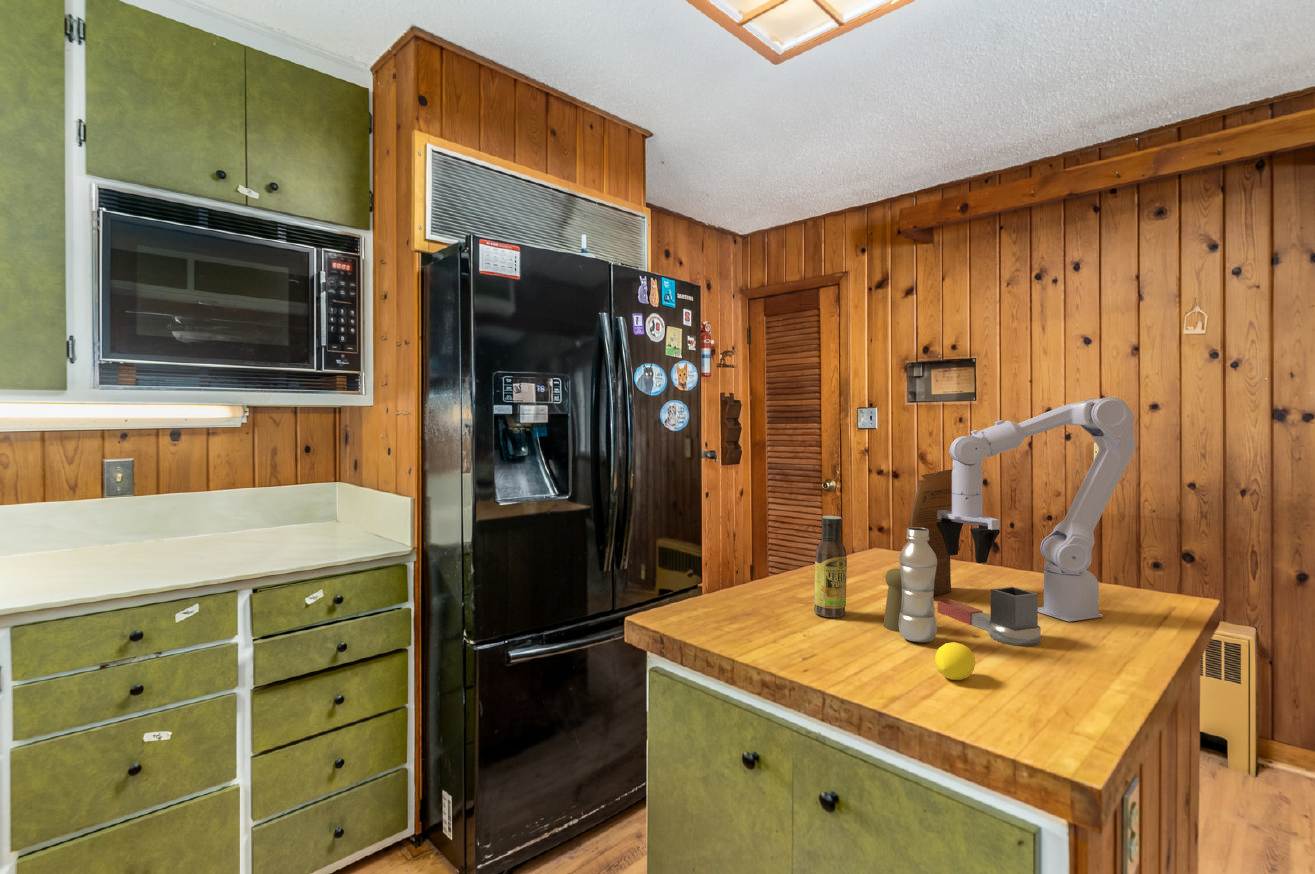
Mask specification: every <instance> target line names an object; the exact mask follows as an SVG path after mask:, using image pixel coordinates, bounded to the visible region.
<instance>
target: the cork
mask: <svg viewBox="0 0 1315 874" xmlns="http://www.w3.org/2000/svg"><path fill="white" fill-rule="evenodd" d="M885 583H886V584H887V586H888V589H887V597H886V603H885V609H884V616H883V624H882V626H883V628H885V629H886V628H887V630H888V631H893V632H897V633H900V632H899V626H898V622H899V615H900V612H901V601H902V581H901V572H900V568H892V569H891V568H890V569H888V570H887V571H886V573H885Z"/></svg>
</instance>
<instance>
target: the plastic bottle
mask: <svg viewBox="0 0 1315 874" xmlns="http://www.w3.org/2000/svg"><path fill="white" fill-rule="evenodd" d="M905 537H906V538H905V539H906V540H907V543H905V544H904V546H903V547H902V549H901V551H899V555H898V563H899V565H898V566H899V569H900V572H901V581H902V601H901V612H900V615H899V622H898V626H899V632H898V633H900V635H901V637H902V638H903V639H906V640H907V641H911V642H914V643H930V642H932V641H933V640H934V639H935V638H936V636H937V631H938V624H937V618H936V613H935V612H936V611H935V600H934V597H933V594H934V591H933V590H934V579H935V573H936V566H937V558H936V555H935V553H934V551H933V550H932V548H931V547H930V546H929V544H928V540H929V531H928V529H926V528H918V527H911V528H910V527H907V528H906V536H905Z"/></svg>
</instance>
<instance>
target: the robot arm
mask: <svg viewBox="0 0 1315 874" xmlns="http://www.w3.org/2000/svg"><path fill="white" fill-rule="evenodd" d="M1135 418H1136V416H1135V414H1134V412H1133V411H1132V409H1131V408H1130V406H1129V405H1128V403H1126V402H1125V401H1124V400H1122V399H1121V398H1118V397H1114V396H1113V397H1112V396H1108V397H1105V398H1087V399H1084V400H1083V401H1077V402H1076V401H1075V402H1072V403H1069V404H1064V405H1061V406H1059V407H1055V408H1053V409H1051V410H1049V411H1046V412H1044V413H1041V414H1038V415H1036V416H1034V417H1031V418H1029V419H1026V420H1024V421H1022V422H1021V421H1020V422H1019V423H1018V422H1017V423H1016V422H1013V421H1012V420H1006V421H1004V420H1002V419H999V420H997V421H994V425H991V426H989V427H987V428H986V427H985V428H983V429H980V430H978V429H974V430H971V431H970V433H971V435H967V436H966V435H962V436H959V437H957V438H955V439H954V441H952V443H951V444H950V447H949V449H948V453H949V456H950V457H951V459H952V470H953V471H952V511H948V510H938V511H937V519H940V520H941V522H936V526H937V527H938V529H939V530H940V532H941V534H942V537H943V539H944V542H945V546H946V550H947V554H948V555H950V557H951V556H958V554H959V550H960V547H959V546H960V536H961V531H962V528H963V525H969V526H975V527H972V528H970V529H969V530H970V533H971V535H972V539H973V543H974V558H975V563H977V564H987V562H988V558H989V555H990V552H991V549H992V547H993V545H994V542H996V541H995V540H996V539H997V538H998V536H999V535H1000V533H1001V531H1000V523H1001V522H1000V521H1001V520H1000V519H998V518H994V517H990V516H988V515H987V516H986V515H983V474H984V473H983V461H984V460H985V459H986V458H990V457H995V456H996V455H1000V454H1003V453H1005V452H1008V451H1010V450H1011V451H1012V450H1014V449H1016V448H1019V447H1021V446H1022V443H1023V442H1024V440H1025V439H1026V438H1029V437H1031V436H1034V435H1037V434H1040V433H1043V432H1044V433H1045V432H1046V431H1051V430H1053V429H1055V428H1056V429H1057V428H1059V427H1062V426H1066V425H1070V426H1080V427H1081V428H1082V429H1083V430H1085V431H1086V432H1087V433H1088V434H1090V435H1091V437H1092V439H1093V441H1094V442H1095V444H1096V445H1097V447H1098V451H1097V452H1096V453H1097V454H1096V455H1095V457H1094V459H1093V461H1092V463H1091V465H1090V467H1089V468H1088V471H1087V473H1086V475H1085V477H1084V479H1083V481H1082V483H1081V485H1080V487H1079V489H1078V491H1077V493H1076V495H1075V497H1074V499H1073V501H1072V503H1071V505H1070V507H1069V509H1068V511H1067V513H1066V515H1065V517H1064V519H1063V520H1062V521H1060V522H1059V523H1058V524H1057V525H1055V526H1054V528H1053V530H1052V531H1051V533H1050V534H1048V535H1047V536H1046V537H1044V538H1043V539H1042V541H1041V543H1040V548H1039V549H1040V553H1041V555H1042V557H1043V559H1045V560H1046V561H1045V563H1044V565H1043V606H1038V613H1041V614H1043V615H1046V616H1049V617H1052V618H1056V619H1058V620H1062V621H1065V622H1075V621H1083V620H1088V619H1089V620H1090V619H1097V618H1098V619H1099V618H1103V617H1104V615H1103V614H1102V613H1099V608H1100V601H1099V599H1100V592H1099V591H1100V585H1099V581H1098V579H1097V577H1096V576H1095V574H1093V573H1092V572H1091V571H1090V570H1088V568H1089V567H1090V566H1091V564H1092V559H1093V557H1092V556H1093V555H1092V550H1093V547H1094V545H1095V542H1096V541H1095V536H1094V534H1095V533H1094V531H1095V529H1096V527H1097V524H1098V522H1099V521H1100V519H1101V517H1102V515H1103V513H1104V512H1105V509H1106V507H1107V505H1108V503H1109V502H1110V499H1111V497H1112V495H1113V494H1114V492H1115V489H1116V488H1117V485H1118V484H1119V482H1120V480H1121V478H1122V476H1123V474H1124V472H1125V470H1126V468H1127V466H1128V464H1129V462H1130V461H1131V458H1132V457H1133V455H1134V453H1135V450H1136V443H1135V434H1134V426H1133V424H1134V421H1135Z"/></svg>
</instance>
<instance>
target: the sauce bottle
mask: <svg viewBox="0 0 1315 874" xmlns="http://www.w3.org/2000/svg"><path fill="white" fill-rule="evenodd" d="M842 525H843V517H841V516H836V515H823V516H821V526H822V528H821V529H822V531H821V540H820V541H819V543H818V544H817V546H816V549H815V561H814V594H813V604H814V607H813V608H814V613H815V614H817V615H819V616H821V617H825V618H840V617H843V616H845V615H846V606H847V568H848V567H847V564H848V558H847V549H846V547H845V546H844V544H843V542H842Z"/></svg>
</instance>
